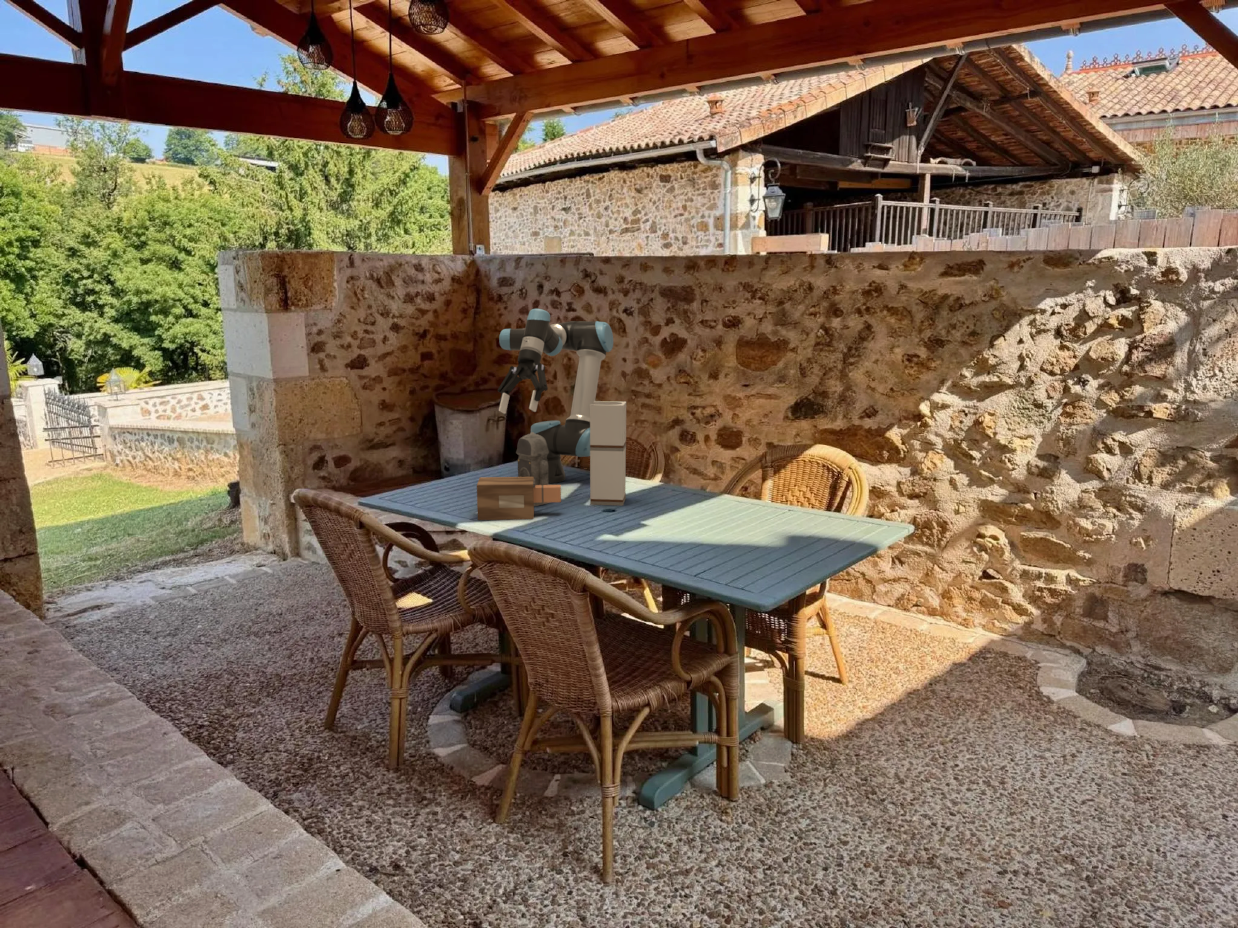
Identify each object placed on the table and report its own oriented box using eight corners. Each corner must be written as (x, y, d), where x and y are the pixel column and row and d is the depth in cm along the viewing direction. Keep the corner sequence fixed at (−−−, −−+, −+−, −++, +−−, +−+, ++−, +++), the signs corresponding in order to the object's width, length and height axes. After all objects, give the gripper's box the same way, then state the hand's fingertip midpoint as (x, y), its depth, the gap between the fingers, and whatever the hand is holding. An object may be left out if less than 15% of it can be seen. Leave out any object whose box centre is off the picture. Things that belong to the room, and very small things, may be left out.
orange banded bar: (485, 500, 274) (484, 485, 273) (560, 499, 276) (560, 484, 275) (484, 503, 270) (484, 488, 269) (560, 502, 272) (560, 487, 271)
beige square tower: (625, 498, 297) (626, 401, 290) (622, 505, 286) (623, 405, 279) (594, 497, 298) (594, 401, 291) (590, 504, 287) (590, 404, 280)
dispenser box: (480, 510, 278) (479, 477, 276) (535, 509, 280) (535, 476, 278) (477, 520, 266) (476, 485, 264) (535, 519, 268) (534, 484, 266)
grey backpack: (535, 507, 282) (534, 436, 277) (511, 500, 293) (510, 431, 288) (557, 503, 289) (557, 433, 284) (533, 496, 299) (532, 428, 294)
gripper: (496, 351, 282) (482, 408, 276) (552, 344, 267) (538, 404, 262) (510, 360, 288) (497, 417, 282) (566, 354, 273) (552, 413, 267)
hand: (517, 411), depth 272 cm, fingers open, 13 cm apart
